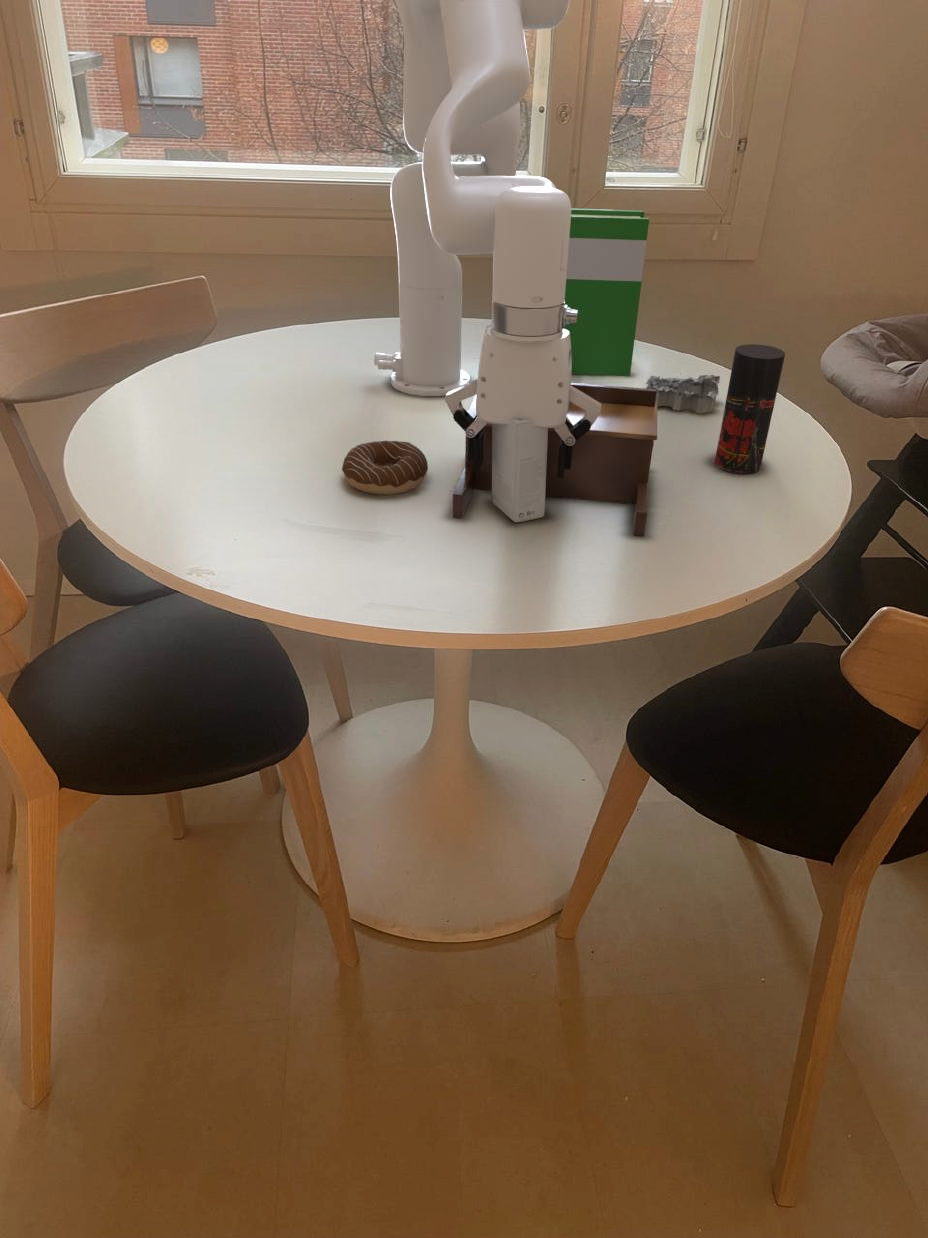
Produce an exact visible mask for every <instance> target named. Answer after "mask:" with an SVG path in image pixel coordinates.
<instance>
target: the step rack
mask: <svg viewBox="0 0 928 1238" xmlns="http://www.w3.org/2000/svg"><path fill="white" fill-rule="evenodd" d="M571 386H573V387H575V388H576V389H578V390H580V391H581V392H583V393H585V394H586V395H588V396H590V397H591V398H593V399H594V400H596V401H598V402H599V403H601V404H602V411H601V413H600V415H599V416H598V418H597V419H596V421H595V422H594V424H593V425H592V426H591V428H590V430H589V431H588V432H587V433H586V434H584V435H583V436H582V437H581V438H579V439H578V440H577V441H576V442H575V443H574V445H573V451H572V463H571V469H565V472H564V477H563V479H559V477H557V470H558V457H559V446H560V441H561V437H560V436H559V435H558V433H557V432H556V431H555V429H554V428H548V444H547V467H546V490H545V497H550V498H551V497H552V498H562V499H574V500H582V501H583V500H584V501H594V502H595V501H596V502H603V503H604V502H605V503H617V504H625V505H626V504H627V505H634V511H633V533H632V535H633V536H639V537H644V536H645V532H646V526H647V519H648V505H649V504H648V503H649V501H648V499H649V498H648V497H649V496H648V495H649V493H648V492H649V478H650V471H651V465H652V463H651V462H652V456H653V449H654V442H655V441H657V440H658V407H657V405H656V404H655V402H656V395H657V389H647V387H633V386H621V385H620V386H618V385H606V384H595V383H581V382H580V383H579V382H571ZM466 411H467V412H468V413H469V414H470V415H471V416H472V417H473V418H474V417H475V416H476V415H477V414H476V395H474V396H473V399H472V400H471V403H470V405H469V407H468V409H467V410H466ZM585 413H586V411H585V410H583V409H582V408H580V407H578V406H577V405H575V404H573V403H572V402H570V407H569V411H568V413H567V418H568V419H569V420H570V422H571V423H572V424H573V425H574V424H576V423H577V422H578V421H579V420H581V419H582V418H583V417H584V415H585ZM482 431H483V432H484V448H483V463H482V465H481V468H480V470H478V472H477V471H473V461H468V442H469V437H467V436H466V435H465V448H464V450H465V452H464V454H465V455H464V456H465V457H464V459H465V460H464V468H463V470H462V473H461V474H460V477H459V479H458V481H457V484H456V487H455V489H454V491H453V493H452V518H456V519H463V518H464V516H465V513H466V510H467V509H468V506H469V504H470V501H471V499H472V495H473V494H474V493H473V492H474V490H477V491H487V492H488V491H489V492H492V424H491V423H487V424H486V425H485V426H484V427H483V428H482Z"/></svg>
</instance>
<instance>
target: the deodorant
mask: <svg viewBox="0 0 928 1238" xmlns="http://www.w3.org/2000/svg"><path fill="white" fill-rule="evenodd" d="M785 357H786V352H785V351H784V350H782V349H781V348H778V347H775V346H770V345H765V344H758V343H757V344H755V343H754V344H753V343H751V344H748V343H747V344H741V345H738V346H737V347H735V349H734V355H733V361H732V366H731V372H730V375H729V376H730V377H729V382H728V386H727V387H728V388H727V393H726V399H725V404H724V409H723V414H722V420H721V426H720V430H719V435H718V442H717V446H716V448H717V449H716V453H715V458H714V465H715V466H716V467H717V468H718V469H720V470H722V471H724V472H727V473H731V474H738V475H751V474H755V473H758V472H759V471H761V468H762V463H763V459H764V454H765V449H766V445H767V441H768V435H769V431H770V426H771V422H772V417H773V412H774V408H775V402H776V399H777V393H778V390H779V385H780V381H781V376H782V370H783V366H784V362H785Z"/></svg>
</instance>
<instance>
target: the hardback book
mask: <svg viewBox="0 0 928 1238" xmlns="http://www.w3.org/2000/svg"><path fill="white" fill-rule="evenodd" d="M649 225H650V217H645V210H635V209H634V210H632V209H627V210H626V209H599V208H571V222H570V235H569V248H568V261H567V274H566V287H565V305H567V308H571V309H572V310H578V316H577V323H570V324H566V325H565V326H563V329H566V330H568V331H569V333H570V340H571V353H572V371H571V375H589V376H590V375H592V376H615V377H617V376H618V377H631V372H632V363H633V355H634V354H633V353H634V347H635V339H636V332H637V325H638V324H637V322H638V315H639V308H640V307H639V306H640V299H641V291H642V282H643V274H644V267H645V266H644V265H645V259H646V258H645V257H646V249H647V241H648V232H649Z"/></svg>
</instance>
